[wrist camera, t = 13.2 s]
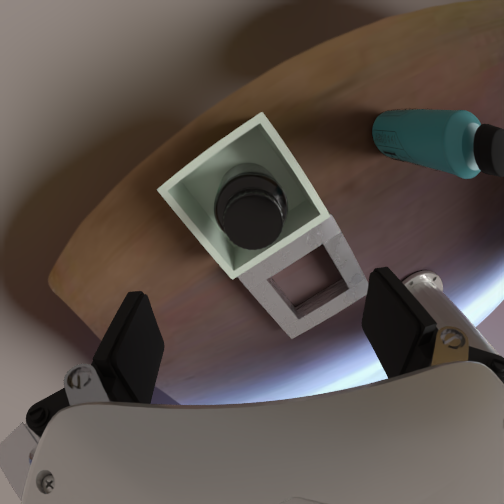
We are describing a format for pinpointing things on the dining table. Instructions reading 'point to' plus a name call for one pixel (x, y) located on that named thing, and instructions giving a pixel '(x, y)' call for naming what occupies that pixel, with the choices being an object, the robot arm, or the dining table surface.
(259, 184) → the supplement bottle
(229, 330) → the dining table surface
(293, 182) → the bin
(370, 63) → the dining table surface
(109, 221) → the dining table surface
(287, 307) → the socket block
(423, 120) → the beverage bottle
